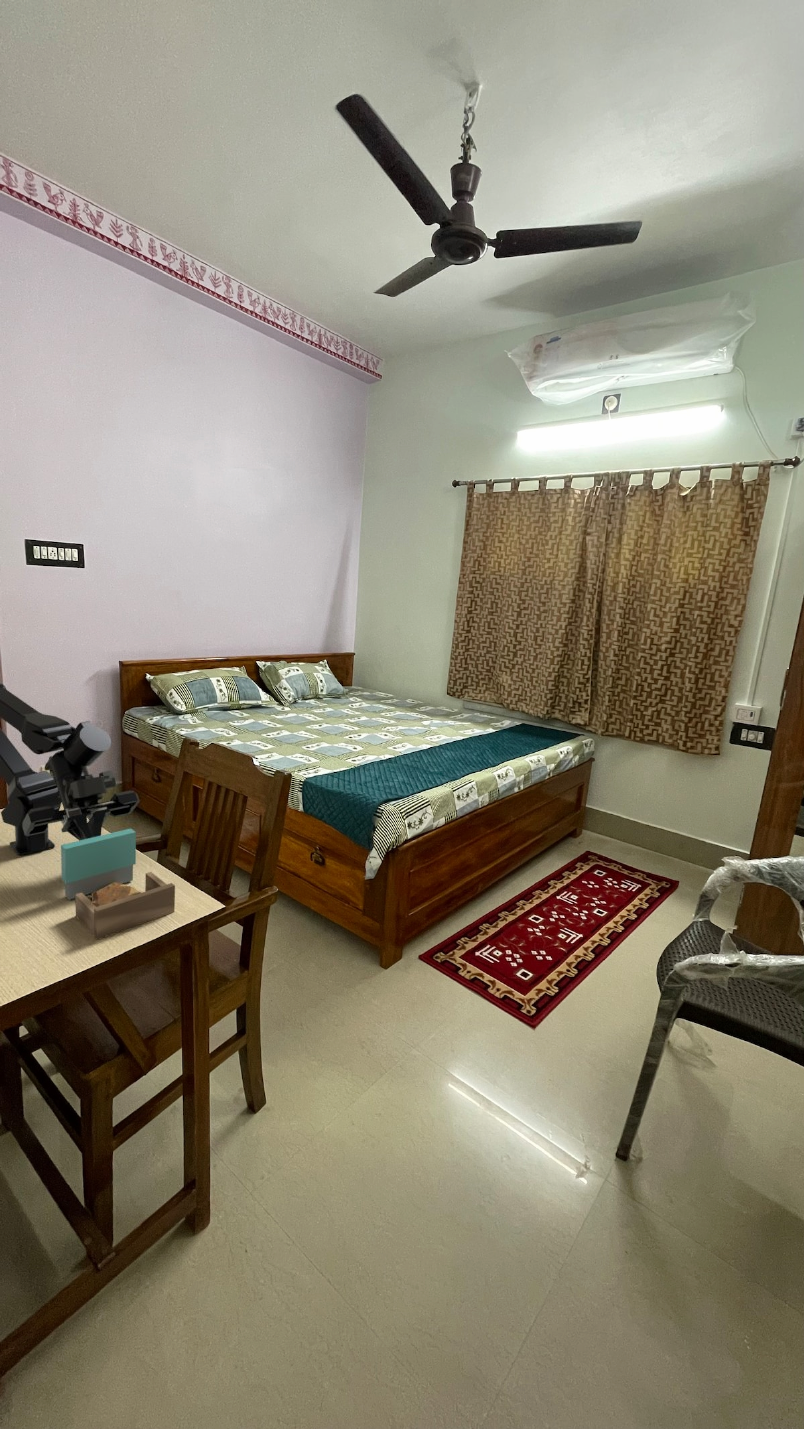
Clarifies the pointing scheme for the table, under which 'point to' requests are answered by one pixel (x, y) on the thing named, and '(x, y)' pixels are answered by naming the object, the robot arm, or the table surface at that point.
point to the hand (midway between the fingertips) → (97, 853)
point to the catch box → (127, 908)
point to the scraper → (98, 862)
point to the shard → (112, 893)
